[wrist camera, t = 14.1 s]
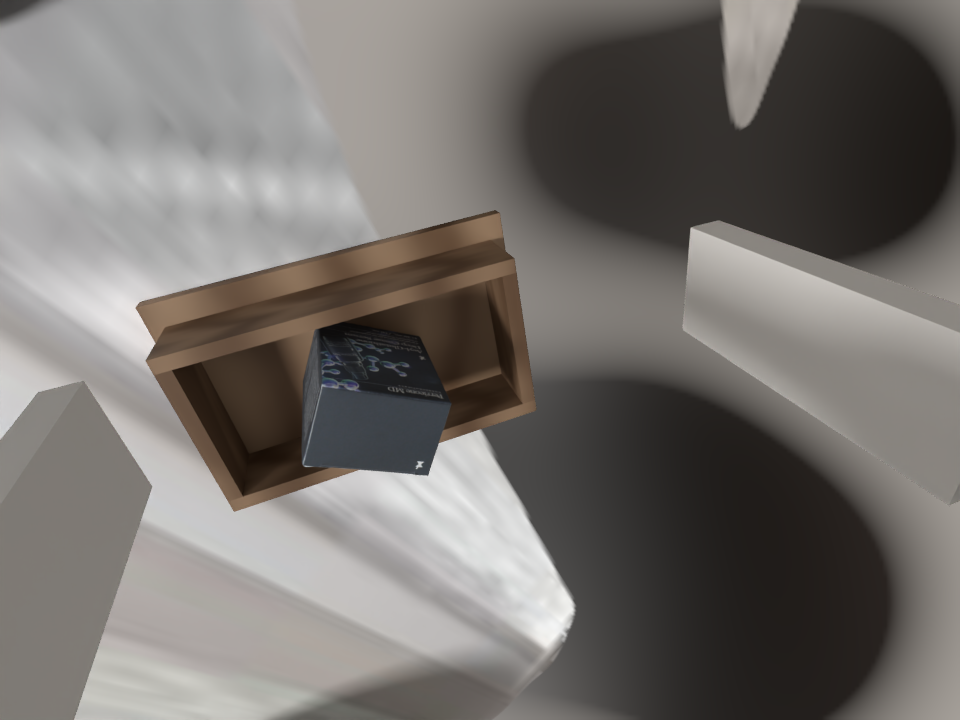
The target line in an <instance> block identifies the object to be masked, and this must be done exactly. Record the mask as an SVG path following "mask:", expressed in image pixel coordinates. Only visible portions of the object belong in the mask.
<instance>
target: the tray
mask: <svg viewBox="0 0 960 720" xmlns="http://www.w3.org/2000/svg"><path fill="white" fill-rule="evenodd" d="M136 309H137V311H138V313H139V315H140V316H141V318H142V320H143V322H144V323H145V325H146V327H147V329H148V331H149V332H150V334H151V336H152V338H153V339H154V341H155V343H156V344H155V345H154V347H153V349H152V351H151V352H150V354H149V356H148V358H147V359H146V362H147V364H148V366H149V368H150V369H151V371H152V373H153V374H154V376H155V378H156V379H157V381H158V383H159V385H160V386H161V388H162V390H163V391H164V393H165V395H166V397H167V398H168V400H169V402H170V403H171V405H172V407H173V408H174V410H175V412H176V414H177V415H178V417H179V419H180V420H181V422H182V424H183V425H184V427H185V429H186V431H187V432H188V434H189V436H190V437H191V439H192V441H193V442H194V444H195V446H196V448H197V449H198V451H199V453H200V454H201V456H202V458H203V460H204V461H205V463H206V465H207V466H208V468H209V470H210V471H211V473H212V475H213V477H214V478H215V480H216V482H217V483H218V485H219V487H220V488H221V490H222V492H223V494H224V495H225V497H226V499H227V500H228V502H229V504H230V505H231V507H232V509H233V511H234V512H235V511H238V510H241V509H244V508H247V507H250V506H253V505H256V504H259V503H262V502H265V501H268V500H271V499H274V498H277V497H280V496H283V495H286V494H289V493H292V492H295V491H298V490H301V489H304V488H306V487H309V486H312V485H315V484H318V483H321V482H324V481H327V480H330V479H333V478H336V477H339V476H342V475H345V474H348V473H351V472H354V471H357V470H358V469H343V468H328V467H305V466H303V464H302V402H303V378H304V374H305V370H306V365H307V361H308V357H309V353H310V348H311V344H312V340H313V335H314V331H315V329H319V328H323V327H326V326H330V325H333V324H337V323H340V322H347V323H352V324H357V325H362V326H368V327H372V328H378V329H383V330H388V331H394V332H399V333H404V334H410V335H415V336H419V337H420V338H421V340H422V342H423V344H424V346H425V348H426V350H427V353H428V354H429V357H430V359H431V361H432V363H433V366H434V368H435V370H436V372H437V374H438V376H439V378H440V380H441V382H442V384H443V386H444V389H445V391H446V393H447V395H448V398H449V400H450V402H451V407H450V410H449V414H448V417H447V420H446V423H445V426H444V429H443V432H442V435H441V438H440V441H439V443H441V442H444V441H447V440H450V439H453V438H456V437H459V436H462V435H465V434H468V433H470V432H473V431H476V430H479V429H482V428H485V427H488V426H491V425H494V424H497V423H500V422H503V421H506V420H509V419H512V418H515V417H518V416H521V415H524V414H527V413H530V412H533V411H536V404H535V397H534V390H533V384H532V377H531V370H530V363H529V356H528V349H527V342H526V335H525V328H524V322H523V315H522V308H521V301H520V294H519V288H518V280H517V273H516V267H515V260H514V258H513V257H512V256H511V255H509V254H508V253H507V252H506V251H505V245H504V238H503V231H502V225H501V218H500V213H499V212H497V211H496V210H494V211H490V212H487V213H483V214H479V215H475V216H471V217H467V218H463V219H460V220H456V221H452V222H448V223H444V224H440V225H437V226H432V227H429V228H425V229H421V230H417V231H414V232H409V233H406V234H402V235H398V236H394V237H390V238H386V239H382V240H378V241H375V242H371V243H367V244H363V245H359V246H355V247H351V248H347V249H344V250H340V251H336V252H332V253H328V254H324V255H320V256H317V257H313V258H309V259H305V260H301V261H297V262H293V263H289V264H286V265H282V266H278V267H274V268H270V269H266V270H262V271H259V272H255V273H251V274H247V275H243V276H239V277H235V278H232V279H228V280H224V281H220V282H216V283H212V284H208V285H204V286H201V287H197V288H193V289H189V290H185V291H181V292H177V293H174V294H170V295H166V296H162V297H158V298H154V299H150V300H147V301H143V302H140V303H139V304H138V305H137V307H136Z"/></svg>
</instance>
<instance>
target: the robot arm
mask: <svg viewBox="0 0 960 720" xmlns="http://www.w3.org/2000/svg"><path fill="white" fill-rule="evenodd" d="M682 329H683V330H684V331H686V332H687V333H688V334H690V335H692V336H693V337H695V338H696V339H698V340H699V341H701V342H702V343H704V344H705V345H707V346H708V347H710V348H711V349H713V350H715V351H716V352H717V353H719V354H720V355H722V356H723V357H725V358H726V359H728V360H729V361H731V362H732V363H734V364H736V365H737V366H739V367H740V368H742V369H743V370H744V371H746V372H748V373H749V374H751V375H752V376H754V377H755V378H757V379H758V380H760V381H761V382H763V383H764V384H766V385H767V386H769V387H770V388H772V389H773V390H775V391H776V392H778V393H779V394H781V395H782V396H784V397H785V398H787V399H788V400H790V401H791V402H793V403H794V404H796V405H797V406H799V407H801V408H802V409H803V410H805V411H807V412H808V413H810V414H811V415H813V416H814V417H816V418H817V419H819V420H820V421H822V422H824V423H825V424H826V425H828V426H829V427H831V428H832V429H834V430H835V431H837V432H838V433H840V434H842V435H843V436H845V437H846V438H847V439H849V440H851V441H852V442H854V443H855V444H857V445H858V446H860V447H861V448H863V449H864V450H866V451H867V452H869V453H870V454H872V455H873V456H875V457H876V458H878V459H879V460H881V461H882V462H884V463H885V464H887V465H888V466H890V467H891V468H893V469H894V470H896V471H898V472H899V473H900V474H902V475H903V476H905V477H906V478H908V479H910V480H911V481H912V482H914V483H916V484H917V485H919V486H920V487H922V488H923V489H925V490H926V491H928V492H929V493H931V494H932V495H934V496H935V497H937V498H938V499H940V500H941V501H943V502H944V503H946V504H947V505H951V504H953V503H955V502H958V501H960V305H959V304H956V303H953V302H950V301H947V300H944V299H941V298H939V297H936V296H933V295H930V294H927V293H924V292H921V291H919V290H916V289H913V288H910V287H907V286H904V285H901V284H899V283H896V282H893V281H890V280H887V279H884V278H881V277H879V276H876V275H873V274H870V273H867V272H864V271H861V270H858V269H856V268H853V267H850V266H847V265H844V264H841V263H839V262H835V261H833V260H830V259H827V258H824V257H821V256H819V255H816V254H813V253H810V252H807V251H804V250H801V249H798V248H796V247H793V246H789V245H787V244H784V243H781V242H778V241H776V240H772V239H770V238H767V237H764V236H761V235H758V234H755V233H753V232H750V231H747V230H744V229H741V228H738V227H736V226H733V225H730V224H727V223H724V222H721V221H715V222H711V223H707V224H703V225H699V226H695V227H691V232H690V244H689V257H688V268H687V280H686V292H685V304H684V316H683V328H682ZM151 489H152V485H151V484H150V482H149V481H148V479H147V478H146V476H145V475H144V473H143V472H142V470H141V468H140V467H139V465H138V464H137V462H136V461H135V459H134V458H133V456H132V455H131V453H130V451H129V450H128V448H127V447H126V445H125V444H124V442H123V441H122V439H121V438H120V436H119V435H118V433H117V431H116V430H115V428H114V427H113V425H112V424H111V422H110V421H109V419H108V418H107V416H106V414H105V413H104V411H103V410H102V408H101V407H100V405H99V404H98V402H97V401H96V399H95V397H94V396H93V394H92V393H91V391H90V390H89V388H88V387H87V385H86V384H85V382H84V381H81V382H77V383H73V384H69V385H65V386H62V387H58V388H54V389H50V390H46V391H42V392H38V393H37V395H36V396H35V397H34V398H33V400H32V401H31V402H30V403H29V405H28V406H27V407H26V408H25V410H24V411H23V412H22V414H21V415H20V416H19V417H18V419H17V420H16V421H15V422H14V424H13V425H12V426H11V427H10V429H9V430H8V431H7V433H6V434H5V435H4V436H3V438H2V439H1V440H0V720H74V718H75V715H76V712H77V709H78V706H79V703H80V700H81V697H82V694H83V691H84V688H85V685H86V682H87V679H88V676H89V673H90V670H91V667H92V664H93V661H94V658H95V655H96V652H97V649H98V646H99V643H100V640H101V637H102V634H103V631H104V628H105V625H106V623H107V620H108V617H109V614H110V611H111V608H112V605H113V602H114V599H115V596H116V593H117V590H118V587H119V584H120V581H121V578H122V575H123V572H124V569H125V566H126V563H127V560H128V557H129V554H130V551H131V548H132V545H133V542H134V539H135V536H136V533H137V530H138V527H139V524H140V521H141V518H142V515H143V512H144V509H145V506H146V503H147V501H148V498H149V495H150V492H151Z"/></svg>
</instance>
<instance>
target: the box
mask: <svg viewBox="0 0 960 720" xmlns="http://www.w3.org/2000/svg"><path fill="white" fill-rule="evenodd" d="M450 407H451V402H450V400H449V398H448V395H447V393H446V391H445V389H444V386H443V384H442V382H441V380H440V378H439V376H438V374H437V372H436V370H435V368H434V366H433V363H432V361H431V359H430V357H429V354H428V353H427V350H426V348H425V346H424V344H423V342H422V340H421V338H420V337H419V336H415V335H410V334H404V333H399V332H394V331H388V330H383V329H378V328H372V327H368V326H362V325H357V324H352V323H347V322H340V323H337V324H333V325H330V326H326V327H323V328H319V329H315V331H314V335H313V340H312V344H311V348H310V353H309V357H308V361H307V365H306V370H305V374H304V378H303V402H302V464H303V466H305V467H328V468H343V469H358V470H371V471H383V472H394V473H405V474H414V475H427V476H428V474H429V471H430V468H431V465H432V462H433V458H434V455H435V453H436V450H437V447H438V444H439V441H440V438H441V435H442V432H443V429H444V426H445V423H446V420H447V417H448V414H449V410H450Z"/></svg>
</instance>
